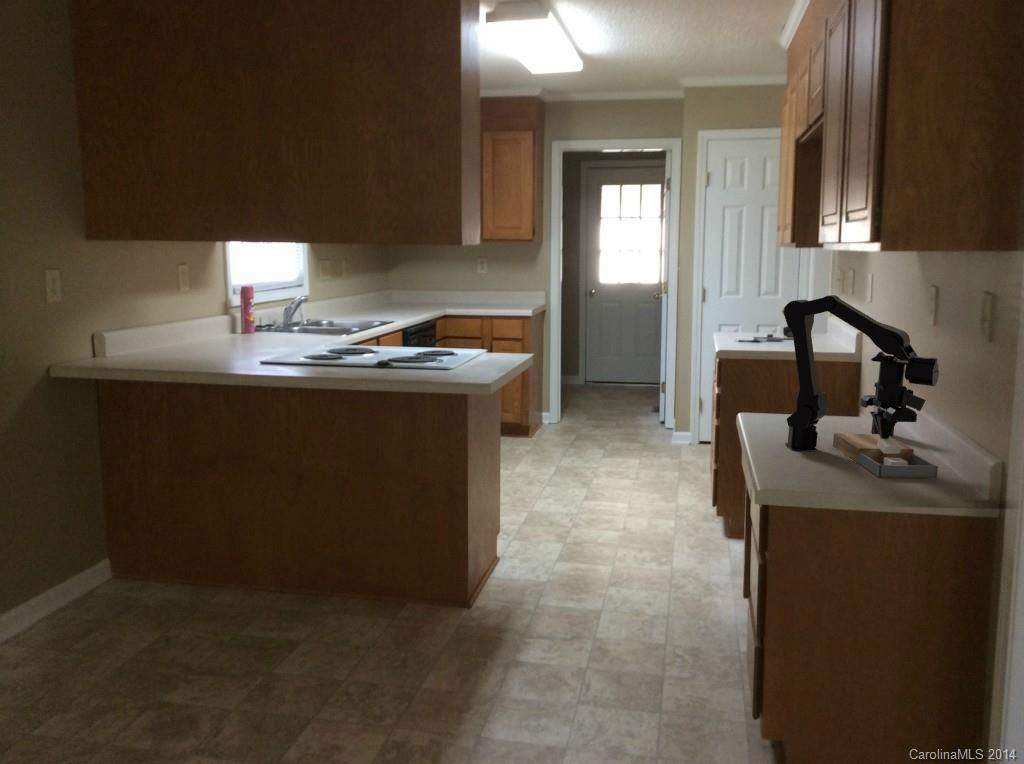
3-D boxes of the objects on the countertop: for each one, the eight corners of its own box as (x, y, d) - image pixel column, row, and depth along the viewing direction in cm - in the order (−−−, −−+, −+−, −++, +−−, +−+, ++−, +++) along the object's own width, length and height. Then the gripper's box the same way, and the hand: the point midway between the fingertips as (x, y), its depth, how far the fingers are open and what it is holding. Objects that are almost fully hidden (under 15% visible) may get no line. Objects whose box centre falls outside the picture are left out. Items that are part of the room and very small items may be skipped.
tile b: (884, 457, 217) (883, 465, 217) (891, 461, 213) (890, 469, 213) (900, 457, 217) (899, 465, 217) (907, 462, 213) (906, 470, 213)
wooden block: (857, 463, 220) (858, 448, 219) (832, 447, 235) (834, 433, 235) (912, 464, 220) (914, 449, 219) (884, 448, 236) (885, 434, 235)
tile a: (884, 453, 217) (885, 446, 216) (876, 445, 220) (878, 438, 220) (899, 453, 217) (901, 446, 216) (891, 445, 221) (893, 438, 220)
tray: (878, 477, 208) (879, 465, 207) (857, 464, 220) (858, 452, 219) (936, 478, 208) (937, 466, 208) (912, 465, 220) (913, 453, 219)
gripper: (941, 388, 209) (934, 452, 212) (904, 374, 227) (898, 432, 230) (895, 388, 208) (889, 451, 211) (862, 373, 227) (856, 432, 230)
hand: (884, 441), depth 221 cm, fingers closed
